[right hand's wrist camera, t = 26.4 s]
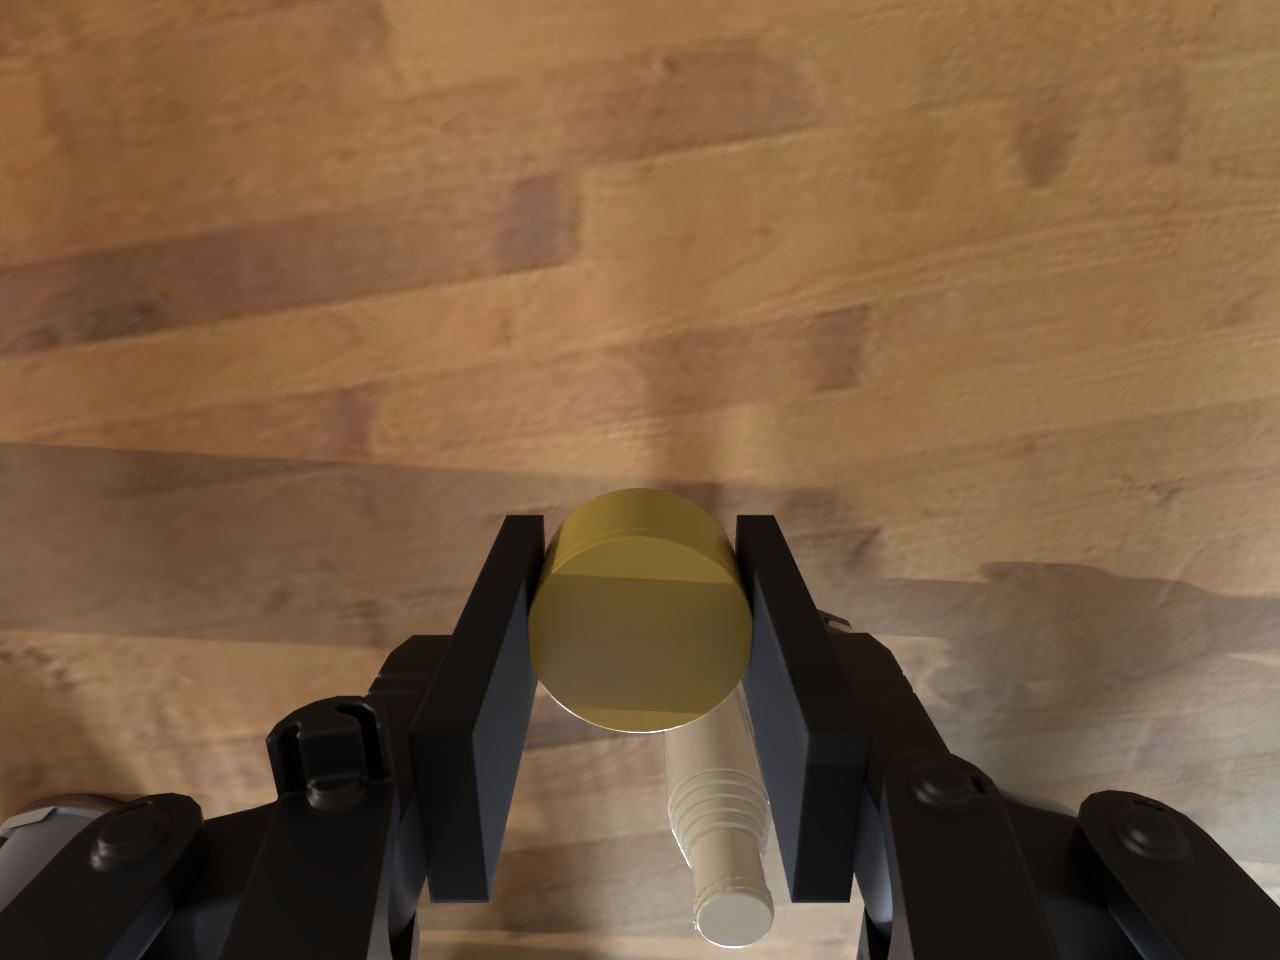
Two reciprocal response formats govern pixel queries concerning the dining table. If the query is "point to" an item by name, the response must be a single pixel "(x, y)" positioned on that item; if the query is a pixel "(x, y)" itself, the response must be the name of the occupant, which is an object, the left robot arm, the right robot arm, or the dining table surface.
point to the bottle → (722, 821)
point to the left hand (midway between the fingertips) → (662, 624)
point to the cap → (640, 613)
